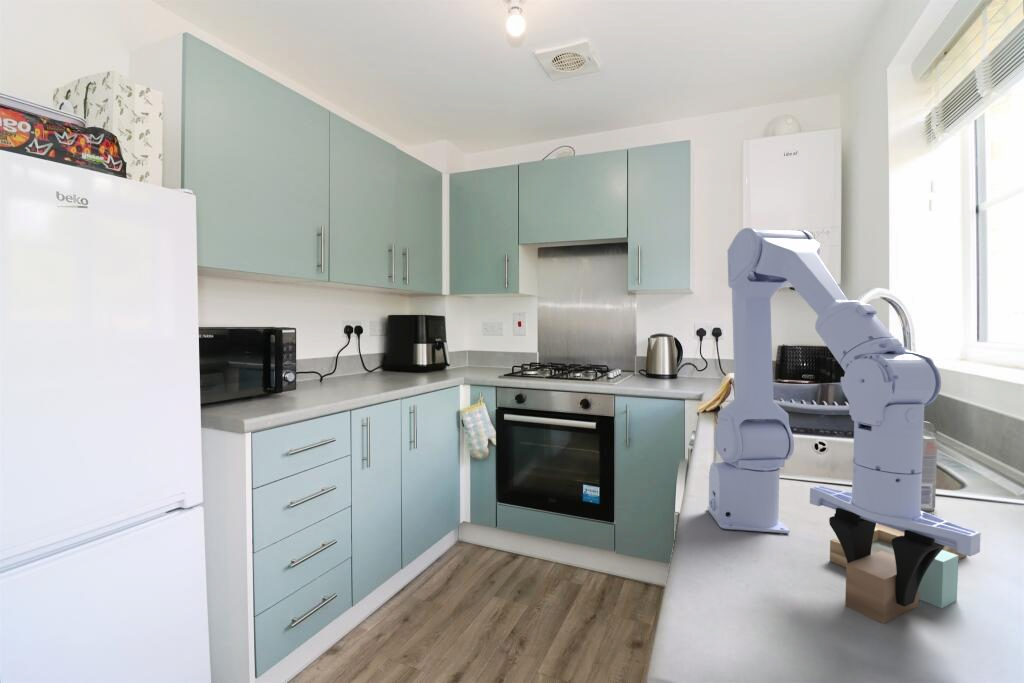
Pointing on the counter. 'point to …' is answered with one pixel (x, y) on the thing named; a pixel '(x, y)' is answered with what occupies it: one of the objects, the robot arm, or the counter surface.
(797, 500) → the counter surface
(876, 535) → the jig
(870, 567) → the tan cardboard box
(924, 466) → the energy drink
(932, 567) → the block
